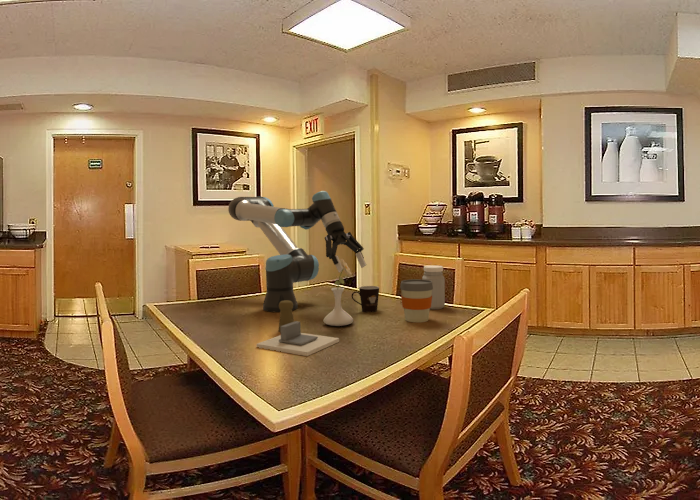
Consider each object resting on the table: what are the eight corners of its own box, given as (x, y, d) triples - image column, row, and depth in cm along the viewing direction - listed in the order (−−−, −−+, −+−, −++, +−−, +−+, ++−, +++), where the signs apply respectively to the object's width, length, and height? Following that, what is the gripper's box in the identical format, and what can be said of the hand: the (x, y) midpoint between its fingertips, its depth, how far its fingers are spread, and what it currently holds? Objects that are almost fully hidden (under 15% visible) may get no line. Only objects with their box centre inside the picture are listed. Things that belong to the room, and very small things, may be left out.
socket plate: (256, 347, 161) (256, 343, 161) (290, 334, 176) (290, 331, 176) (307, 356, 151) (307, 352, 151) (339, 341, 166) (339, 338, 166)
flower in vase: (343, 329, 182) (341, 261, 180) (317, 326, 188) (315, 259, 186) (361, 322, 193) (360, 257, 191) (336, 319, 199) (335, 256, 197)
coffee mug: (380, 308, 218) (379, 285, 217) (379, 312, 210) (378, 289, 209) (353, 308, 219) (353, 285, 218) (351, 312, 211) (351, 289, 210)
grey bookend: (278, 341, 162) (278, 326, 162) (295, 335, 170) (295, 320, 169) (301, 345, 157) (300, 329, 157) (317, 338, 165) (317, 323, 165)
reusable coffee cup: (412, 324, 188) (412, 285, 186) (394, 318, 199) (394, 281, 197) (439, 320, 193) (439, 282, 192) (420, 314, 204) (420, 278, 203)
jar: (419, 309, 216) (419, 267, 214) (425, 304, 225) (424, 264, 223) (442, 310, 212) (442, 268, 211) (446, 306, 221) (446, 265, 220)
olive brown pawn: (278, 328, 185) (277, 299, 184) (295, 328, 186) (294, 298, 185) (277, 333, 179) (277, 302, 178) (294, 332, 180) (294, 302, 179)
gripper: (315, 222, 204) (336, 268, 198) (358, 218, 222) (378, 260, 216) (306, 231, 209) (325, 276, 203) (348, 226, 227) (367, 268, 221)
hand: (352, 268), depth 210 cm, fingers open, 13 cm apart
